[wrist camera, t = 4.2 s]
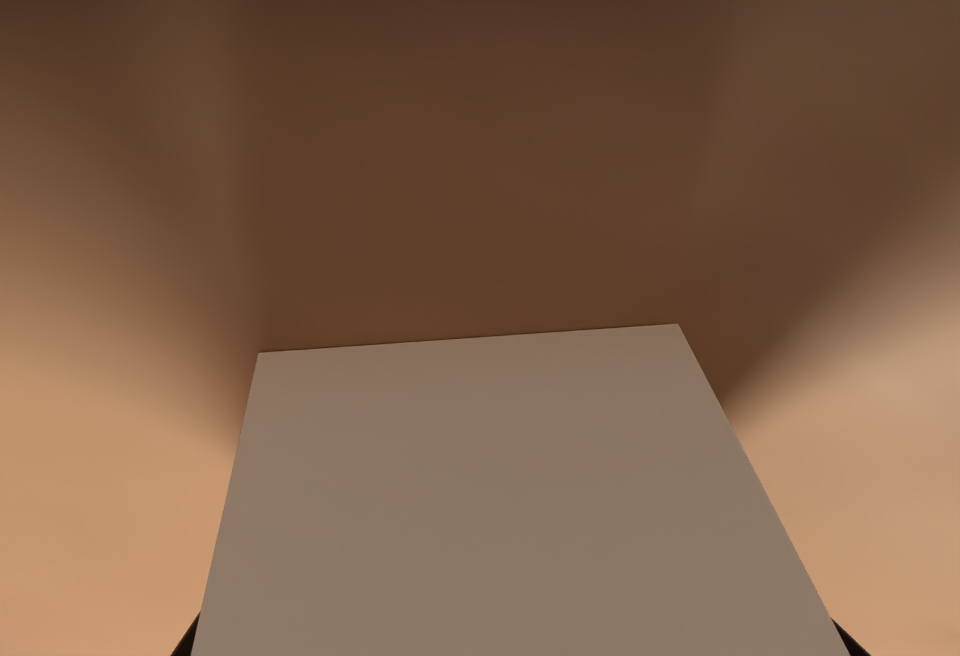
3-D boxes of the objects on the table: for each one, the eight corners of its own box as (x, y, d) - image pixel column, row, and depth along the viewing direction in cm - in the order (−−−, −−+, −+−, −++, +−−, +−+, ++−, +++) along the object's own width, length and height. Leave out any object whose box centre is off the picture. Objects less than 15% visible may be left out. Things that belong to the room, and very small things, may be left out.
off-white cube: (677, 323, 9) (898, 748, 5) (634, 577, 12) (754, 974, 8) (257, 352, 9) (150, 831, 5) (318, 606, 12) (283, 1035, 8)
